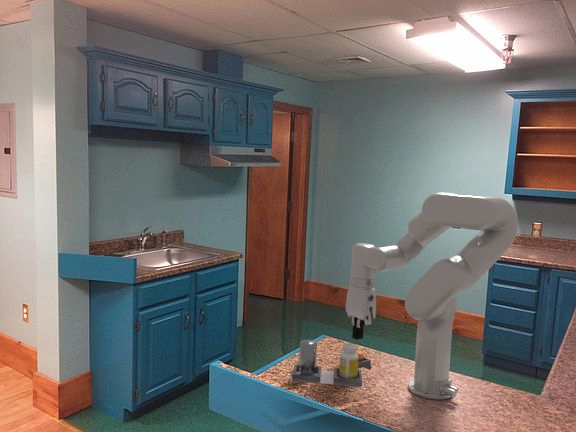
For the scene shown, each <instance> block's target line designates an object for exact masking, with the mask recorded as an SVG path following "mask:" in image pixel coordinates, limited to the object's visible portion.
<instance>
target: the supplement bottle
mask: <svg viewBox="0 0 576 432" xmlns="http://www.w3.org/2000/svg"><path fill="white" fill-rule="evenodd" d="M356 351H357V345H355V344H353V343H352V344H351V343H346V344H343V345H342V352H340V354H339V367H338V368H339V377H342V378H354V379H357V374H358V369H359V367H358V354H357V353H355V352H356Z"/></svg>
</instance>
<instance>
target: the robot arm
mask: <svg viewBox="0 0 576 432" xmlns="http://www.w3.org/2000/svg"><path fill="white" fill-rule="evenodd" d="M518 226H519V222H518V217H517V213H516V211H515V209H514V207H513V205H512V204H511V203H510V202H509V201H508V200H506V199H504V198H501V197H497V196H473V195H461V194H459V195H458V194H456V193H452V192H435V193H432V194H430V195H428V197H426V198H425V199H424V201H423V203H422V206H421V211H420V212H419V213H418V214H417V215H415V216H414V217H413V218H412V219H410V220H409V221H408V223H407V228H408V229H407V230H408V232H407V233H406V234H405V235H404V236H403V237H402V238H400V239H399V240H397V242H395V243H394V244H392V245H385V246H381V247H379V246H378V247H376V245H374V244H371V243H365V242H362V243H361V242H359V243H355V244H353V245H352V251H351V266H350V275H349V276H350V277H349V279H350V280H349V284H348V289H347V292H346V293H347V294H346V301H345V312H346V315H347V317H348V318H350V320H351V325H352V336H351V338H352V339H354V340H362V339H363V338H364V330H365V327H366V326H369V325H372V320H375V319H376V314H377V294H376V289H375V288H374V287H375V272H377V273H386V272H389V271H394V270H399V269H401V268H403V267H405V266H406V265H407V264H409V263H411V262H412V261H413V260H414V259H416V258H417V257H419V255H420V254H422V253H423V251H424V250H425V249H426V248H427V247H428V245H429V244H430V243H432V242H433V241H435V240H436V239H437V238H439V237H440V236H441V235H442V234H444V233H445V232H447V230H449V229H450V228H457V229H458V228H459V229H464V230H473V231H479V232H478V233H477V234H476V235H475V236H473V237H472V238H471V239H470V240H469V241H468V242H467V243H466V244H465V246H464V247H462V248H461V250H460V251H459V252H458V253H457V254H455V255H453V256H452V257H446V258H443V259H440V260H438V261H436V262H435V263H434V264H432V266H430V267H429V268H428V269H427V271H426V272H425V273H424V274H423V275H422V276H421V277H420V278H419V279H418V280H417V281H416V282H415V283H414V285H413V286H412V287H411V288H410V289H409V290H408V292H407V293H406V296H405V300H404V307H405V308H404V309H405V311H406V312H407V314H408V315H409V316H410V317H411V318H412V319H413V320H416V321H418V322H417V330H416V340H415V341H416V342H415V343H416V344H415V360H414V373H413V375H414V376H413V379H411V380H410V381H408V384H407V387H408V389H409V391H410V392H411V393H413V394H414V395H416V396H418V397H421V398H424V399H428V400H429V399H430V400H447V399H450V398H456V396H457V394H458V392H459V388H458V387H456V386H453V384H452V383H453V382H452V381H453V380H452V379H451V378H450V365H451V364H450V363H451V351H452V349H451V347H452V337H453V335H452V334H453V327H454V326H453V325H454V319H455V313H456V310H457V294H459V293H462V292H466V291H468V290H470V289H471V288H472V287H474V286H475V284H477V282H478V281H479V280H480V279H481V278H482V277H483V276H484V275H485V274H486V273H487V272H489V270H490V269H491V268H492V267H493V266H494V265H495V264H496V262H497V261H498V260H500V258H501V257H503V255H504V254H506V252H507V251H508V249H510V247H511V245H512V244H513V243H514V241H515V238H516V236H517V234H518V229H519V227H518Z"/></svg>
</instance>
